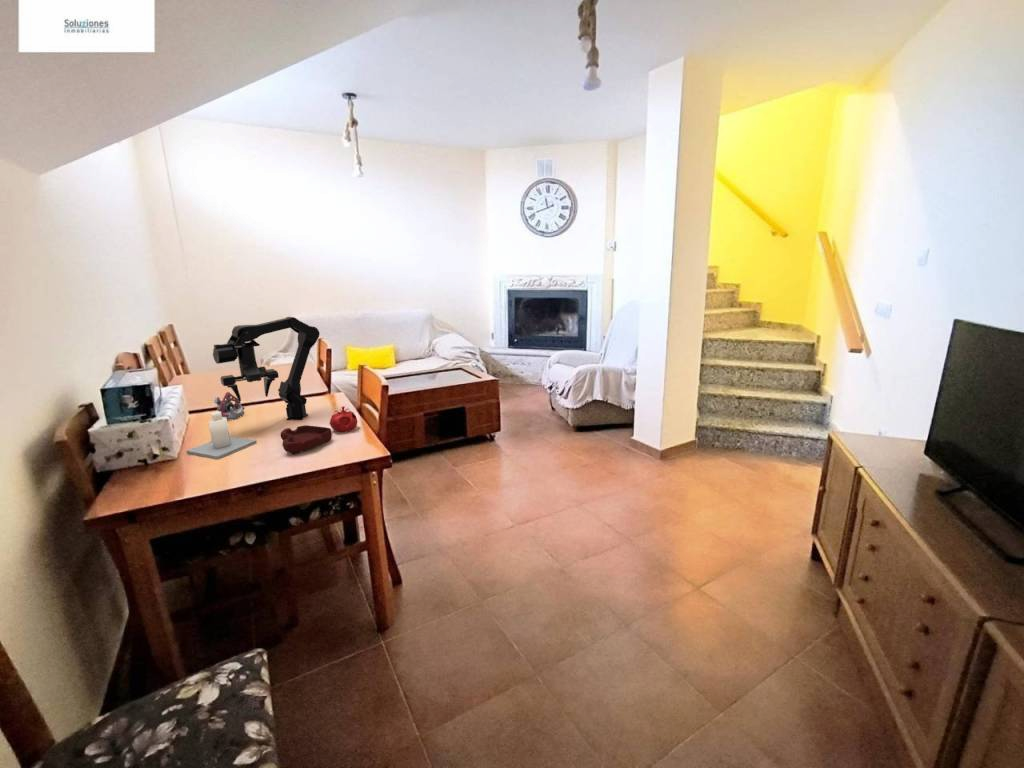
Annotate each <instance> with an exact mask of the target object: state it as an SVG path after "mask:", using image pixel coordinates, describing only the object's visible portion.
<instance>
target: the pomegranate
mask: <svg viewBox="0 0 1024 768" xmlns="http://www.w3.org/2000/svg"><path fill="white" fill-rule="evenodd" d="M345 407H346V406H341V409H338V410H335V411H333V412H332V413H333V414H332V415H331V417H330V420H329V426H330V428H331V430H333V431H335V432H337V433H348V432H352V431H353V430H355V429H356V427H357V425H358V418H357V415H356V414H355V412H353V411H351V410H349V408H346V409H345ZM348 410H349V411H348Z"/></svg>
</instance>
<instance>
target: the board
mask: <svg viewBox="0 0 1024 768" xmlns="http://www.w3.org/2000/svg"><path fill="white" fill-rule="evenodd" d="M230 440H231V445H229V446H227V447H223V448H214V447H213V443H212V440H211V441H208V442H206V443H203V444H201V445H197V446H195V447H192V448H190V449H187V450H186V451H185V452H186V454H188V455H193V456H198V457H204V458H209V459H214V460H220V459H222V458H224V457H227V456H230V455H232V454H234V453H237V452H238V451H241V450H243V449H246V448H248V447H251V446H253V445H256V444H257V440H256V439H255V440H254V439H249V438H243V437H237V436H233V435H230Z"/></svg>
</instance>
